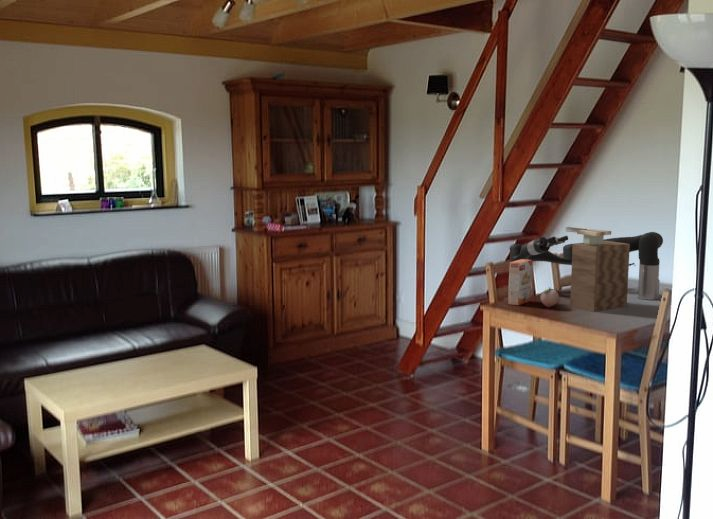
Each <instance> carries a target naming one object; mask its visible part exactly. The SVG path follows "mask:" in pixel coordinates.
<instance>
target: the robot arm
mask: <svg viewBox="0 0 713 519" xmlns="http://www.w3.org/2000/svg"><path fill="white" fill-rule="evenodd" d="M567 241H569V236H568V235H564V236H561V237H556V236H551V237H545V236H541V237H538V238H535V239H533V240H531V241H530V242H527V243H524V244H520V243H514V244H512V245H510V246H509V259H510V262H513V261H517V260H521V259H526V260H532V262H545V263H552V264H559V265H567V266H572V246H573V244H579V243H580V242H577V243H570V244H564V243H566V242H567ZM603 241H611V242H619V243H627V244H630V250H629V253H631V252H635V251H638V260H639V264H638V265H639V267H638V268H639V270H638V283H637V284H638V289H637V298H638V299H641V300H646V299H647V301H649V300H650V301H652V300H653V301H654V300H658V299H659V297H660V296H659V295H660V262H661V261H660V258H659V252H658V251H659V249H660V248H661V247H662V245H663V244H664V239H663V236H662V235H661V234H660V233H658V232H656V231H650V232H646V233H643V234H640V235H635V236H623V237H612V238H611V237H610V238H606V239H603ZM561 244H564V246H563V247H562V254H563V256H562V257H560V256H558V255H556V254H554V253H552V252H551V251H550V248H551V247H554V246H558V245H561Z"/></svg>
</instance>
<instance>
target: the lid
mask: <svg viewBox="0 0 713 519" xmlns="http://www.w3.org/2000/svg"><path fill="white" fill-rule="evenodd" d="M565 232H568V233H575V234H577V235H581V236H582V235H583V236H584V235H591V236H602V235H604V236H611V235H612V230H603V229H595V228H594V229H593V228H590V229H587V228H581V227H573V226H572V227H571V226H567V227H565Z"/></svg>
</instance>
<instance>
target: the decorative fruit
mask: <svg viewBox="0 0 713 519" xmlns="http://www.w3.org/2000/svg"><path fill="white" fill-rule="evenodd" d="M539 298H540V301H541V303H542V305H544V306H545V307H547V308H548V309H550V308H551V307H553V306H555V305H557V304H558V302H559V301H560V295H559V293H558V291H556V290H555V289H554V288H551V286H549V288H547V289H545V290H544V291H542V292H541V294H540V296H539Z"/></svg>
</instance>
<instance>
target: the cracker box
mask: <svg viewBox="0 0 713 519" xmlns="http://www.w3.org/2000/svg"><path fill="white" fill-rule="evenodd" d="M532 265H533V261H532V260H527V259H521V260H517V261H513V262H511V261H510V262H509V267H508V271H509V272H508V294H507V296H508V297H507V298H508V299H507V305H510V306H516V305H517V306H521V305H523V304H527V303H529V302H531V288H532ZM517 306H516V307H517Z"/></svg>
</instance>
